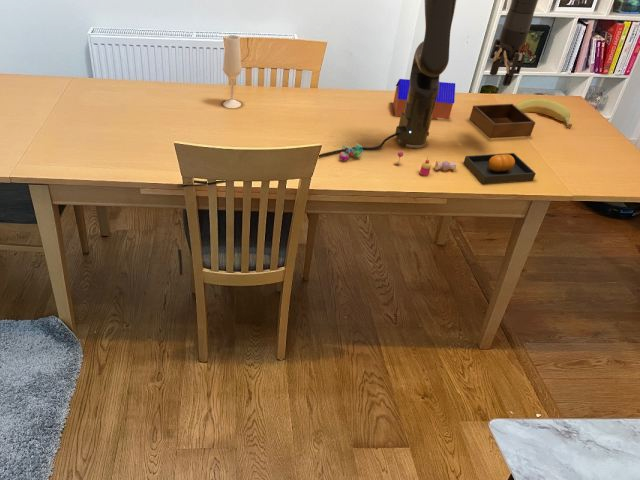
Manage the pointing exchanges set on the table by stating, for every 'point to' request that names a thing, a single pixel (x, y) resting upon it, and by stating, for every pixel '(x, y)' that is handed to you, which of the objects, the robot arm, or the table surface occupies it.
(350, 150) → the anatomy model
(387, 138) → the robot arm
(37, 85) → the table surface
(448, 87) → the house
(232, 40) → the champagne flute
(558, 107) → the banana
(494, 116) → the brown wooden box
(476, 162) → the tray
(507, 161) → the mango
